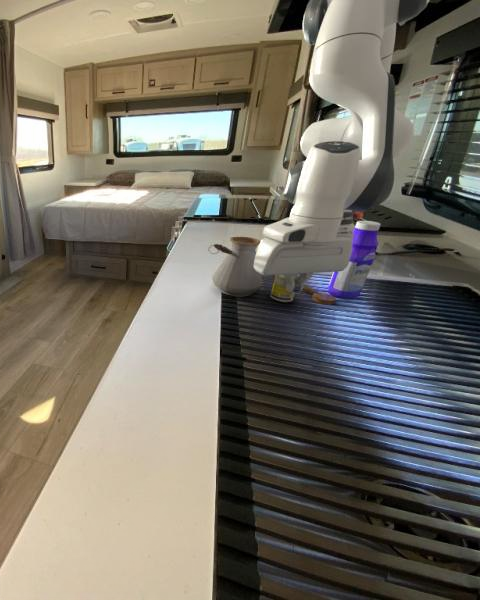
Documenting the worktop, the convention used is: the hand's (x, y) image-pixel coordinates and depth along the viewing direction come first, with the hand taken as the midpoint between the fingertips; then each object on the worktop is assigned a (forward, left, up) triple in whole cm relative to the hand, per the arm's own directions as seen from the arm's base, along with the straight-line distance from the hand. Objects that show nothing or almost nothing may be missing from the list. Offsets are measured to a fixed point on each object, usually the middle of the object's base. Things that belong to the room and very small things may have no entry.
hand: (293, 290), depth 74 cm
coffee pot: (+12, -7, -4) cm, 14 cm away
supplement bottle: (0, -3, -4) cm, 5 cm away
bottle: (-16, -3, -4) cm, 17 cm away
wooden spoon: (-9, -7, -4) cm, 12 cm away
